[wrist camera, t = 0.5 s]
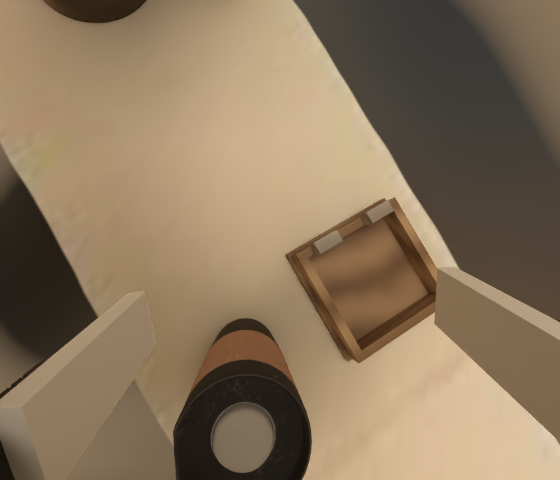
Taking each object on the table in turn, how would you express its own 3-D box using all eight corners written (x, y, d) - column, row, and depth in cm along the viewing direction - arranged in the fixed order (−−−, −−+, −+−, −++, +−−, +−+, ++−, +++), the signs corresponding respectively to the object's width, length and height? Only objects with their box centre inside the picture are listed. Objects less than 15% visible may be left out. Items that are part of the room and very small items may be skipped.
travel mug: (288, 342, 36) (342, 428, 16) (248, 394, 35) (253, 558, 15) (240, 302, 36) (234, 341, 16) (198, 354, 34) (135, 465, 15)
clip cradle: (285, 254, 37) (292, 251, 31) (380, 199, 39) (403, 187, 33) (345, 359, 36) (363, 375, 31) (438, 297, 39) (471, 301, 33)
